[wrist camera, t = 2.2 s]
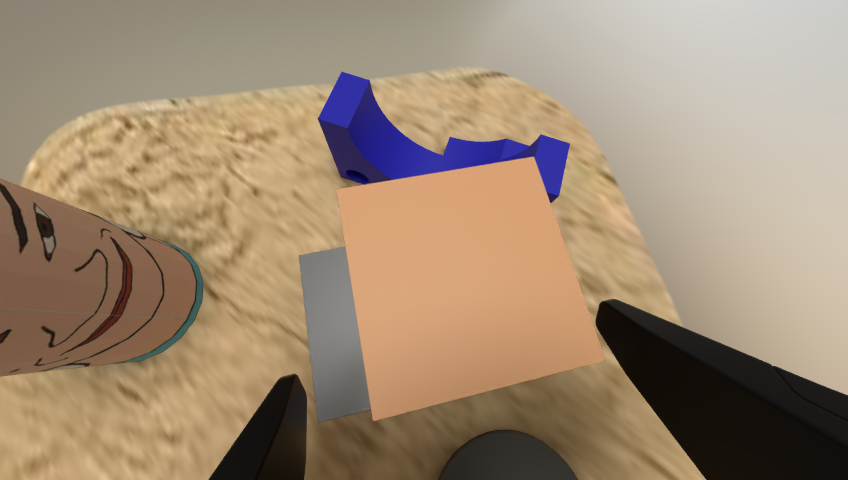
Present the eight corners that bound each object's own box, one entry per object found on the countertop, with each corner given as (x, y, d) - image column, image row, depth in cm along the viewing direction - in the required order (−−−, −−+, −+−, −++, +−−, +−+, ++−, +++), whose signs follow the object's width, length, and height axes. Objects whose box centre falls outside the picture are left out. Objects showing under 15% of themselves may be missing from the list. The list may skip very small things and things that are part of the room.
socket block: (539, 356, 18) (560, 360, 16) (330, 409, 17) (318, 422, 14) (500, 228, 20) (514, 214, 18) (311, 265, 19) (298, 255, 16)
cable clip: (529, 175, 22) (574, 119, 16) (514, 234, 20) (558, 195, 15) (365, 123, 22) (352, 50, 16) (341, 178, 21) (318, 119, 15)
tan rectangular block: (472, 341, 18) (605, 360, 6) (392, 361, 17) (372, 421, 6) (453, 263, 19) (534, 156, 7) (377, 279, 18) (336, 189, 7)
